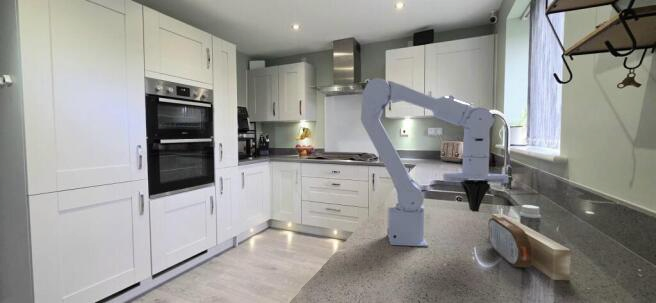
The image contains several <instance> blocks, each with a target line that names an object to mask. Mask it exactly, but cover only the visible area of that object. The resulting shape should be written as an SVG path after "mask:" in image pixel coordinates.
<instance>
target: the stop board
mask: <svg viewBox="0 0 656 303" xmlns="http://www.w3.org/2000/svg"><path fill="white" fill-rule="evenodd" d="M501 217H504V218H506V219H507V220H509V221H511V222H512V223H514V224H515V225H517V226H519V227H520V228H522V229H523V230H524V231H525V233H526V234H527V236H528V238H529V240H530V242H531V246H532V250H533V261H532V264H531V266H534V268H537V269H538V270H539V271H540V272H542V273H543V274H544V275H546V276H547V277H548V278H550V280H552V281H553V280H554V281H556V280H557V281H558V280H559V281H570V276H571V258H572V256H571V252H572V250H571V249H569V248H568V247H565V246H564V245H562V244H560V243H559V242H557V241H554V240H553V239H551V238H549V237H547V236H545V235H543V234H541V232H540V233H538V232H536V231H534V230H532V229H530V228H529V227H527V226H525V225H523V224H521V223H520V221H517V220H515V219H513V218H512V217H509V216H508V215H506V214H504V213H492V214H491V218H501Z"/></svg>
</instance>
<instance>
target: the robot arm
mask: <svg viewBox="0 0 656 303" xmlns="http://www.w3.org/2000/svg"><path fill="white" fill-rule="evenodd" d="M361 101H362V102H361V110H360V111H361V112H360V114H361V115H360V120H361V123H362V125H363V127H364V130H365V131H366V133H367V135H368V137H369V139H370V140H371V143H372V145H373V146H374V148H375V149H376V152H377V154H378V156H379V158H380V160H381V161H382V163H383V165H384V167H385V169H386V171H387V172H388V174H389V177H390V178H391V180H392V184H393V186H394V189H395V190H396V193H397V202H398V203H397V202H396V204H395V206H391V207H387V228H386V233H387V237H388V241H389V245H391V246H412V247H429V243H428V241H427V239H425V236H424V235H425V206H424V205H423V203H424V200H425V197H424V193H423V191H422V188H421V186H420V184H419V183H418V182H417V181H415V180H414V179H413V178H412V176H411V174H410V173H409V172H408V170H407V168H406V166H405V164H404V162H403V160H402V158H401V157H400V155H399V153H398V151H397V149H396V148H395V146H394V144H393V141H392V140H391V138H390V136H389V134H388V133H387V131H386V129H385V127H384V125H383V124H382V121H381V118H382V115H383V112H384V109H385V108H386V107H387V105H388V104H389V103H390V101H391V103H392V104H395V103H399V102H405V103H408V104H410V105H415V106H418V107H421V108H423V109H427V110H429V111H431V112H432V114H433V116H434V118H436V119H439V120H441V121H444V122H446V123H450V124H452V125H455V126H458V127H460V126H462V128H463V141H462V169H461V170H462V172H443V177H442V178H443V181H444V182H447V183H450V182H456V183H457V182H460V185H461V186H462V189H463V191H464V193H465V195H466V199H467V202H468V208H469V210H470V211H471V212H473V213H474V212H475V213H476V212H479V211H480V207H481V205H482V202H483V199H484V197H485V195H486V194H487V192H489V190H490V188H491V183H501V184H502V183H503V184H509V180H510V178H509V175H508V174H505V173H500V174H499V173H489V166H490V141H491V140H490V139H491V138H490V128H492V126H493V125H494V123H495V118H494V116H493V113H492V112H491V111H490V110H489V109H487V108H486V107H483V106H481V107H479V106H478V107H475V104H474V103H472V102H470V103H466V102H464V101H460V100H457V99H456V96H454V95H452V94H450V95H449V96H447V95H444V96H441V97H438V98H436V97H434V96H432V95H428V94H426V93H423V92H421V91H419V90H416V89H413V88H411V87H409V86H406V85H404V84H400V83H398V82H394V81H391V80H387V81H386V80H385V79H383V78H379V77H377V78H373V79H371V80H369V81H368V82H367V83H366V86H365V88H364V90H363V92H362V93H361Z"/></svg>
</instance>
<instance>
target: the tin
mask: <svg viewBox="0 0 656 303" xmlns="http://www.w3.org/2000/svg"><path fill="white" fill-rule="evenodd" d="M487 225H488V239H489V242H490V244H491V246H492V248H493V250H494V251H495V252H496V253H497V254H499V255H500V256H501V257H502V259H503V260H505V261H506V262H507V264H508V265H510V266H511V267H515V268H527V269H528V268H530V267H531V266H532V261H533V250H532V246H531V242H530V240H529V238H528V236H527V234H526V233H525V231H524V230H523V229H522V228H520V227H519V226H517V225H515V224H514V223H512V222H511V221H509V220H507V219H506V218H504V217H501V218H492V217H491V218H490V219H489V220H488V223H487Z"/></svg>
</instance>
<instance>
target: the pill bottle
mask: <svg viewBox="0 0 656 303" xmlns="http://www.w3.org/2000/svg"><path fill="white" fill-rule="evenodd" d="M519 223H521V224H523V225H525V226H527V227H529V228H530V229H532V230H534V231H536V232H538V233H540V234H541V230H542V228H541V227H542V226H541V224H542V215H541V214H540V207H539V206H536V205H533V204H531V205H530V204H523V205H522V204H521V211H520V212H519Z"/></svg>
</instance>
